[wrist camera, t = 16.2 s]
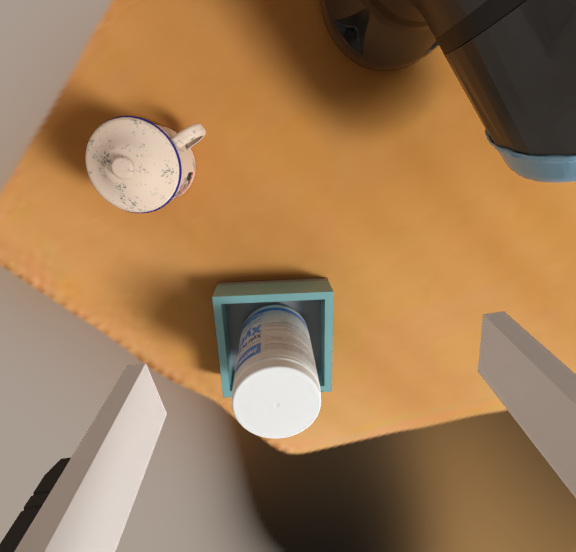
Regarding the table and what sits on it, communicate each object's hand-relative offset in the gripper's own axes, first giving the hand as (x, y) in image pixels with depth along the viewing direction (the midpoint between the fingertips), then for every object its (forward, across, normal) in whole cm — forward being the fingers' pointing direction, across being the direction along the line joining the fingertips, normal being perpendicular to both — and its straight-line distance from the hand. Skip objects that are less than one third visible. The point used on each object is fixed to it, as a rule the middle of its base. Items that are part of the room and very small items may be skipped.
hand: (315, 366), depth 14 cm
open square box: (+31, -5, -18) cm, 37 cm away
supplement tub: (+31, -5, -19) cm, 36 cm away
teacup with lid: (+34, -14, +6) cm, 37 cm away
